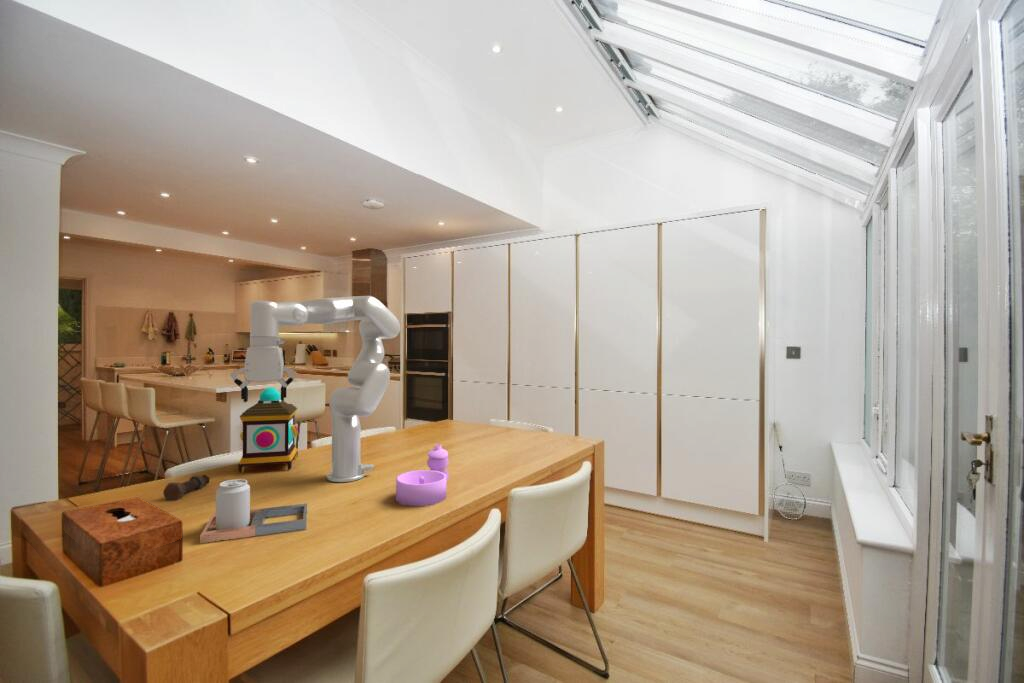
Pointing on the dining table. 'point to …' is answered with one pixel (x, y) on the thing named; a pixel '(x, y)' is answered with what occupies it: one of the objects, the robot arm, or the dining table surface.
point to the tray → (258, 524)
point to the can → (232, 504)
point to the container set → (425, 481)
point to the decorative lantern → (268, 432)
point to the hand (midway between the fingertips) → (264, 400)
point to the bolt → (185, 487)
